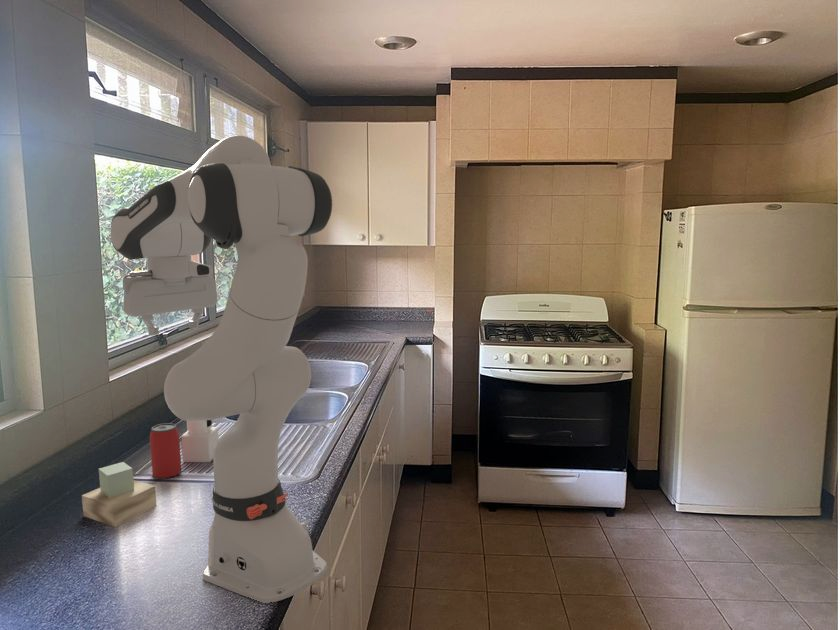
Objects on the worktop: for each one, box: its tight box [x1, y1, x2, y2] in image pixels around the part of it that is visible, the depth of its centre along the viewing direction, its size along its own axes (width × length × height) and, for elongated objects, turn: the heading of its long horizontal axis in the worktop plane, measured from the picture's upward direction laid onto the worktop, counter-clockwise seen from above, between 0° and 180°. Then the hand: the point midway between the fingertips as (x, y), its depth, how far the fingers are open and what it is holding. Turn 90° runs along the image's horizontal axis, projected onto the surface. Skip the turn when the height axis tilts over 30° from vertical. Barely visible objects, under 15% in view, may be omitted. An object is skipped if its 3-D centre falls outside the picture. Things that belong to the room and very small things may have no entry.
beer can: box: [149, 422, 182, 480], centre depth 148 cm, size 7×7×12 cm
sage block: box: [98, 461, 134, 498], centre depth 129 cm, size 5×5×5 cm
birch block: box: [81, 479, 158, 528], centre depth 130 cm, size 10×10×5 cm
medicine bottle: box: [180, 420, 220, 463], centre depth 159 cm, size 7×7×12 cm
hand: (174, 331), depth 135 cm, fingers open, 8 cm apart
